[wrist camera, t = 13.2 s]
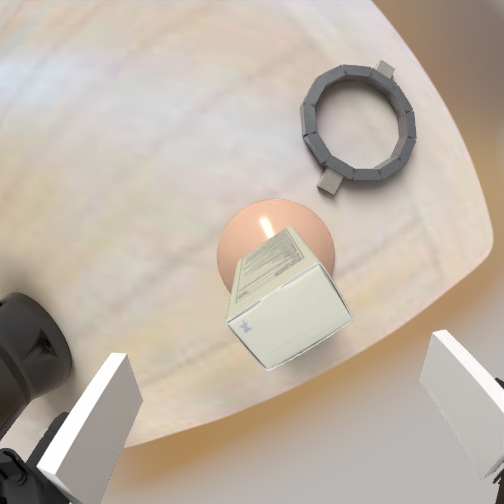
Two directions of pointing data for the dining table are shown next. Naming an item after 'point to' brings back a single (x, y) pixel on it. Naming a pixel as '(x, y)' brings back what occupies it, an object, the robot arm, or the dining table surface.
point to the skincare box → (284, 300)
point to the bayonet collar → (397, 99)
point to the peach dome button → (271, 233)
